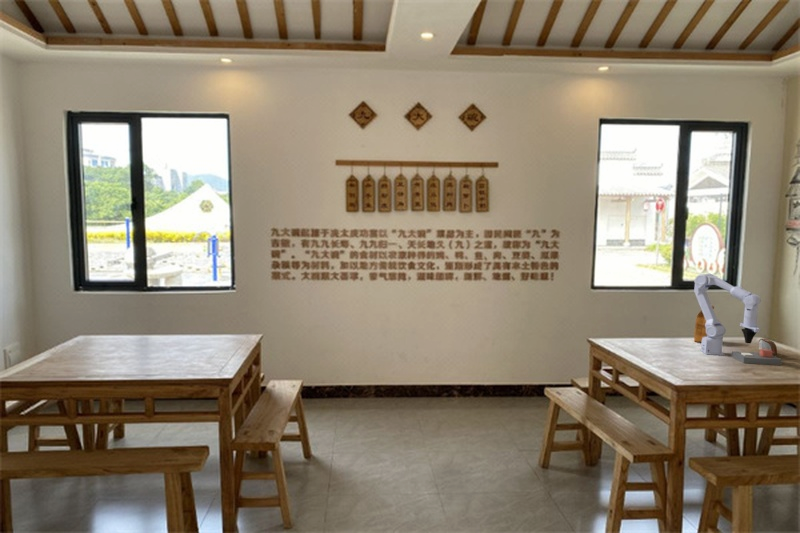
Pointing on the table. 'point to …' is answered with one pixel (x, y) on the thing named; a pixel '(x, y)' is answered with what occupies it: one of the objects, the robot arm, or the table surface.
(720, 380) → the table surface
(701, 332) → the coffee package
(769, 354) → the red button
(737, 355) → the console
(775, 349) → the tin
